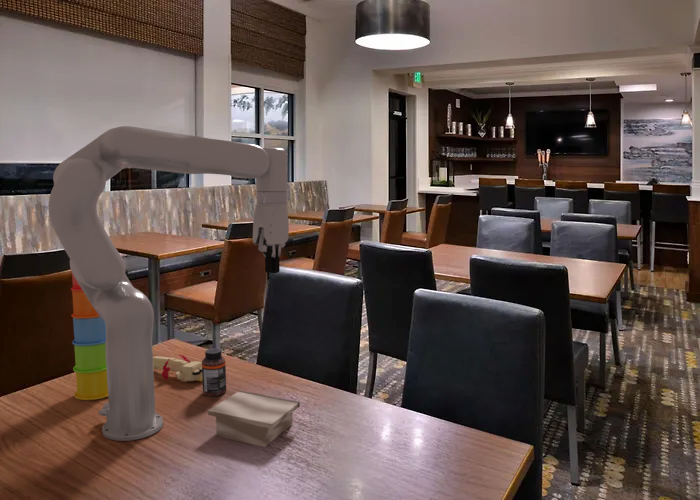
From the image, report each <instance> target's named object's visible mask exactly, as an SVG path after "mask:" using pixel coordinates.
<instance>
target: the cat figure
mask: <svg viewBox="0 0 700 500" xmlns="http://www.w3.org/2000/svg"><path fill="white" fill-rule="evenodd" d="M178 356H179V357H181V359H179V358H176V357H167V356H160V355H156V356H153V370H162V372H161V377H162V378H163V379H164V380H167V381H168V380H169V372H175V376H176V377H177V380H180V381H181V382H184V383H185V382H194V381H196V382H202V361H196V360H195V361H191V360H189V358H187V357H186V356H185V355H183V354H178Z"/></svg>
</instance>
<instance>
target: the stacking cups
mask: <svg viewBox="0 0 700 500" xmlns="http://www.w3.org/2000/svg"><path fill="white" fill-rule="evenodd" d="M71 275H72V276H71V279H72V287H71V288H70V290H71V293H72V294H71V295H72V307H73V309H72V311H73V313H72V314H71V318H72V321H73V322H72V324H73V336H74V339H73V340H72V342H71V343H72V345H74V358H75V359H74V361H75V362H74V363H75V365H74V367H73V368H72V370H73V371H74V373H75V380H76V381H75V382H76V391H75V392H74V397H75V399H77V400H81V401H93V400H94V401H96V400H100V399H104V398H108V383H107V365H106V323H105V322H104V320H103V319H102V318H101V317H100V316H99V315H98V313H97V312H96V310H95V309H94V307H93V306H92V304H91V303H90V301H89V299H88V298H87V296H86V295H85V293H84V292H83V290H82V288H81V287H80V285H79V283H78V282H77V280H76V279H75V277H74V275H73V273H72V272H71Z"/></svg>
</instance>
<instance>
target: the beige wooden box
mask: <svg viewBox="0 0 700 500" xmlns="http://www.w3.org/2000/svg"><path fill="white" fill-rule="evenodd" d="M300 407H301V403H300V401H297V400H292V399H286V398H280V397H275V396H272V395H270V396H269V395H265V394H260V393H254V392H249V391H244V390H239V391H237V392H235V393H234V394H232V395H230V396H229V397H227V398H226V399H224V400H222V401H221V402H219V403H218V404H216V405H214V406H212V408H209V409H208V410H207V415H208V416H212V417H215V425H216V426H215V429H216V433H215V434H216V435H215V436H216V437H219V438H220V437H221V438H223V439H229V440H233V441H238V442H243V443H246V444H249V445H254V446H259V447H262V448H266V447H267V446H268V445H269V444H270V443H272V442H273V441H274V440H275V439H277V437H279V436H280V435H281V434H282V433H283V432H285V431H286V430H287V429H288V428H290V426H292V425H293V413H294V412H295V411H296V410H297V409H298V408H300Z"/></svg>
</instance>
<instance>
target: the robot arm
mask: <svg viewBox="0 0 700 500" xmlns="http://www.w3.org/2000/svg"><path fill="white" fill-rule="evenodd" d="M125 168H133V169H142V170H148V171H149V170H151V171H159V172H160V171H161V172H168V173H169V172H170V173H177V174H187V175H200V174H201V175H204V174H205V175H207V174H208V175H209V174H210V175H221V176H231V177H233V178H237V179H255V180H256V181H255V182H256V186H255V187H256V188H255V189H256V204H255V208H254V212H253V222H252V243H253V244H254V246H258V251H260V252H262V253H263V257H264V269H265V270H264V271H265V273H269V274H278V273H280V267H281V266H280V257H281V255H282V252H281V251H282V249H283V248H284V247H285V246H286V243H287V242H288V240H289V231H290V230H289V229H290V228H289V214H288V153H287V150H286V149H285V148H281V147H261V146H259V145H257V144H251V143H245V142H238V141H231V140H223V139H216V138H209V137H205V136H204V137H203V136H198V135H192V134H184V133H177V132H169V131H165V130H164V131H163V130H156V129H151V128H143V127H138V126H131V125H130V126H127V125H125V126H118V127H113V128H110V129H108V130H106V131H104V132H103V133H102V134H100V135H99V136H97V138H96V137H95V139H94V140H92V141H91V142H89V143H87V145H85V146H84V147H82V148H80V149H79V150H77V151H76V152H75V153H73V154H72V155H70V156H68V157H67V158H65V159H64V160H63V161H61V162H60V163H59V164H58V165H57V167H55V169H54V172H53V176H52V177H53V179H52V181H53V187H52V190H51V192H50V195H49V201H48V217H49V221H50V224H51V227H52V228H53V231H54V233H55V234H56V237H57V238H58V240H59V243H61V245H62V247H63V249H64V251H65V252H66V254H67V256H68V258H69V267H70V271H71V274H72V273H73V275H74V277H75V279H76V280H77V282H78V283H79V285H80V287H81V288H82V290H83V292H84V293H85V295H86V296H87V298H88V299H89V301H90V303H91V304H92V306H93V307H94V309H95V310H96V312H97V313H98V315H99V316H100V317H101V318H102V319H103V320H104V322H105V323H106V365H107V383H108V397H107V399H108V402H105V403H103V406H102V408H101V409H99V411H98V414H99V416H103V417H106V418H105V419H106V422H105V423H104V424H103V426H102V429H101V431H102V436H103V437H105V438H106V439H108V440H112V441H118V442H126V441H127V442H128V441H129V442H130V441H137V440H141V439H143V438H148V437H150V436H152V435H154V434H156V433H157V432H159V431H160V430H161V429H162V428H163V425H164V418H163V416H162V415H160V414H159V413H157V412H156V396H155V373H154V370H155V369H153V357H154V355H153V353H154V352H153V349H154V348H153V333H154V332H153V331H154V323H155V322H154V321H155V320H154V319H155V318H154V317H155V315H154V313H155V312H154V307H153V304H152V302H151V301H150V299H149V298H148V296H146V294H144V293H143V292H142V291H140V290H139V289H138V288H135V287H134V286H133V285H132V282H131V281H130V280H129V278H128V276H127V274H126V265H125V261H124V258H123V257H122V255H121V253H120V252H119V251H118V249H117V248H116V246H115V244H114V243H113V241H112V240H111V238H110V237H109V235H108V233H107V231H106V229H105V227H104V225H103V223H102V222H101V220H100V218H99V214H98V210H97V204H98V200H99V197H100V196H101V195H102V194H103V193H104V190H105V188H106V183H107V182H108V181H109V180H110V179H112V178H113V177H114V176H116V175H117V174H119V172H121V171H122V170H123V169H125Z"/></svg>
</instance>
